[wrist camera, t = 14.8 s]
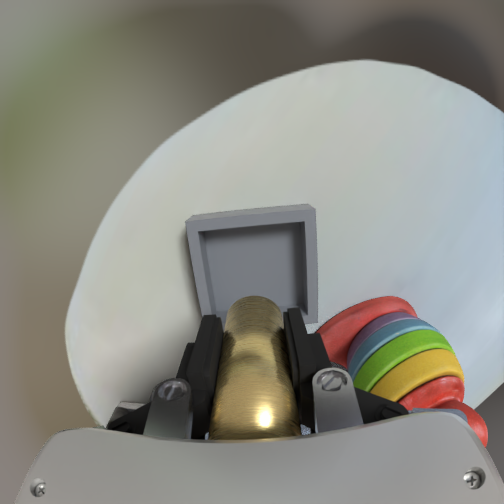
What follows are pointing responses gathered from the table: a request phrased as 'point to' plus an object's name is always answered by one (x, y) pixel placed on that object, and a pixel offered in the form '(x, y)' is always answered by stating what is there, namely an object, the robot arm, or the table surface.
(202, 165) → the table surface
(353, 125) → the table surface
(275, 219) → the tray
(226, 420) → the pin
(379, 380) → the stacking bear
